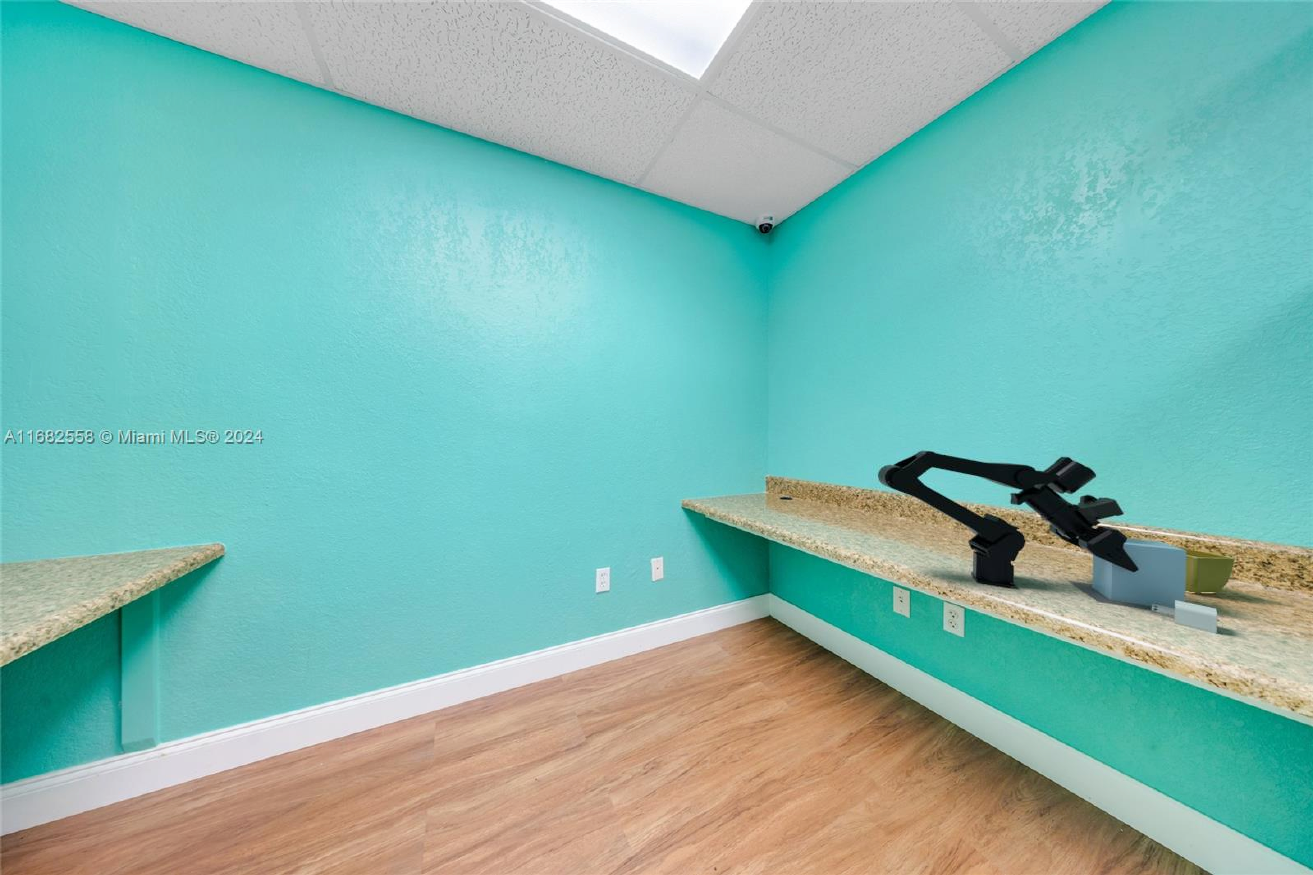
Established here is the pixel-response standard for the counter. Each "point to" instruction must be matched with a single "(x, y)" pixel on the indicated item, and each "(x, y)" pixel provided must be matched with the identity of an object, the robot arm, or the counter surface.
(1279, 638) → the counter surface
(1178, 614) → the usb wall charger
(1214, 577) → the flower pot
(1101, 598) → the mat
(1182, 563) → the light blue rectangular block
